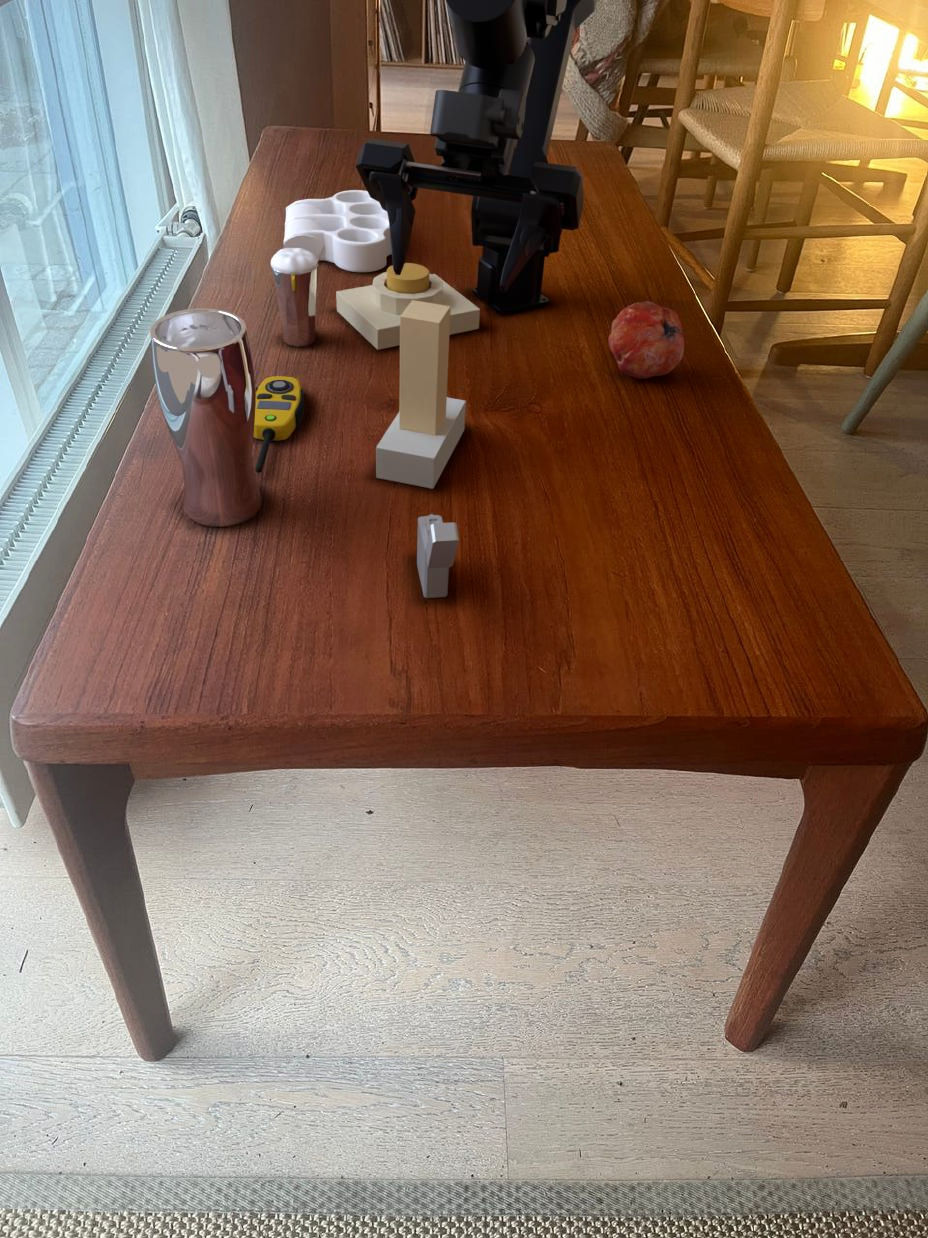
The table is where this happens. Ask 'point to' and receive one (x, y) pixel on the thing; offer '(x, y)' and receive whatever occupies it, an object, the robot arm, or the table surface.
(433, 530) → the lighter
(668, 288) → the table surface
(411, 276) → the bell button
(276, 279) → the milkshake
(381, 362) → the table surface
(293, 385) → the remote control
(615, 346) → the pomegranate
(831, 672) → the table surface
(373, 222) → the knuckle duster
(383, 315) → the bell stand
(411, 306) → the stamp
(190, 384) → the beer glass
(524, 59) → the robot arm
